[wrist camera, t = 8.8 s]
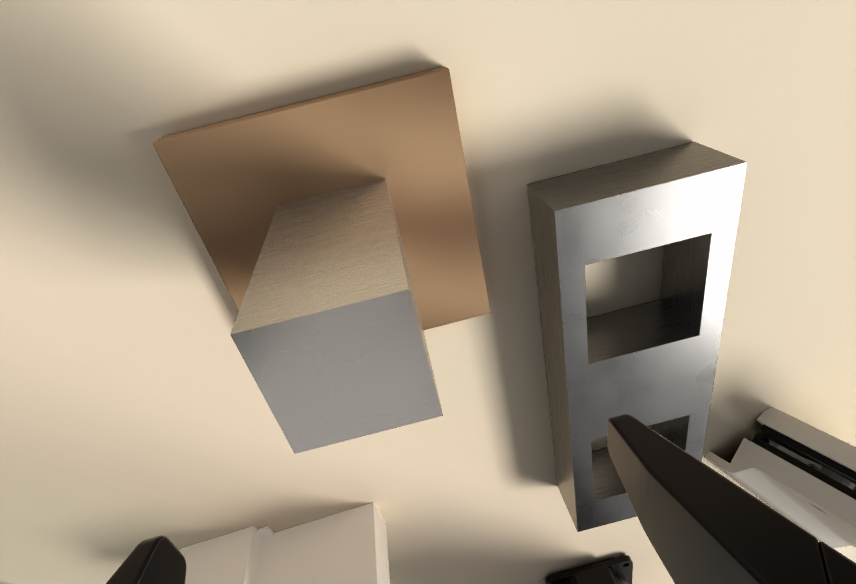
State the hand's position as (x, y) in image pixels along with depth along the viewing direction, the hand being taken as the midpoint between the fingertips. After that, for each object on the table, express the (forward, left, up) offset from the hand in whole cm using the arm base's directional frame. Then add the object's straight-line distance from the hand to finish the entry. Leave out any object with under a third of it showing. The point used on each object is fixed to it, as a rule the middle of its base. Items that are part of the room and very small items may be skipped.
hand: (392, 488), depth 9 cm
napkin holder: (-17, +10, -13) cm, 23 cm away
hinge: (-24, -24, -12) cm, 36 cm away
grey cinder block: (-9, -10, -12) cm, 18 cm away
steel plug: (+1, +1, -11) cm, 11 cm away
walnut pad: (+1, +1, -12) cm, 12 cm away
